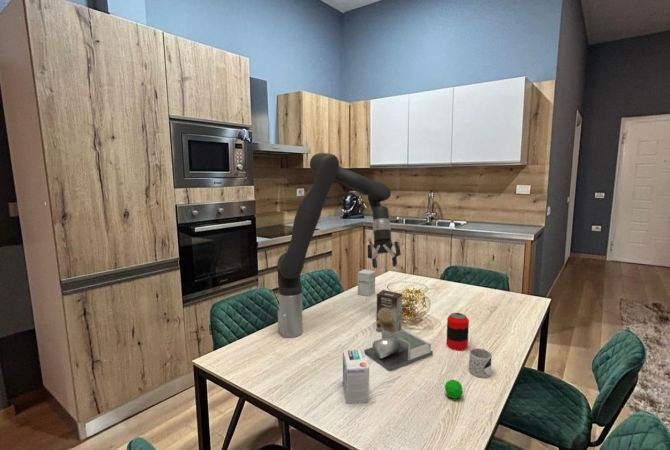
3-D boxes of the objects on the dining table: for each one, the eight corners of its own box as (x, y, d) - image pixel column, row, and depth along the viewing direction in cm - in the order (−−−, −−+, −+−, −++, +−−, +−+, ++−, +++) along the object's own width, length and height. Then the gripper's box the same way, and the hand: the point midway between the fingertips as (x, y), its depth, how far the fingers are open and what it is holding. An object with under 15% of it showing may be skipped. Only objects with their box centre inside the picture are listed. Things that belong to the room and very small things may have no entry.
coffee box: (375, 331, 147) (375, 293, 145) (381, 325, 152) (382, 289, 150) (396, 336, 142) (396, 297, 140) (402, 330, 147) (402, 293, 145)
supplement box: (357, 294, 192) (357, 272, 190) (363, 290, 198) (363, 268, 196) (369, 297, 188) (369, 273, 186) (375, 293, 194) (375, 270, 192)
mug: (488, 380, 111) (489, 360, 110) (466, 374, 115) (467, 355, 114) (493, 366, 120) (494, 347, 119) (472, 360, 123) (473, 342, 122)
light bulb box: (342, 382, 111) (342, 350, 109) (363, 381, 111) (363, 349, 110) (346, 404, 100) (346, 368, 99) (369, 403, 101) (370, 367, 99)
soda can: (467, 343, 136) (468, 313, 134) (467, 352, 129) (469, 320, 127) (446, 340, 139) (447, 310, 137) (446, 349, 132) (447, 318, 130)
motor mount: (389, 371, 117) (390, 350, 116) (364, 353, 128) (364, 334, 127) (432, 355, 127) (433, 335, 126) (405, 340, 139) (405, 321, 138)
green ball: (458, 391, 106) (459, 376, 105) (465, 401, 101) (465, 386, 100) (442, 391, 106) (442, 376, 105) (447, 402, 101) (448, 386, 100)
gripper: (363, 231, 155) (366, 268, 151) (394, 226, 148) (398, 265, 145) (370, 233, 161) (372, 269, 158) (400, 229, 155) (403, 266, 151)
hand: (384, 267), depth 151 cm, fingers open, 8 cm apart
